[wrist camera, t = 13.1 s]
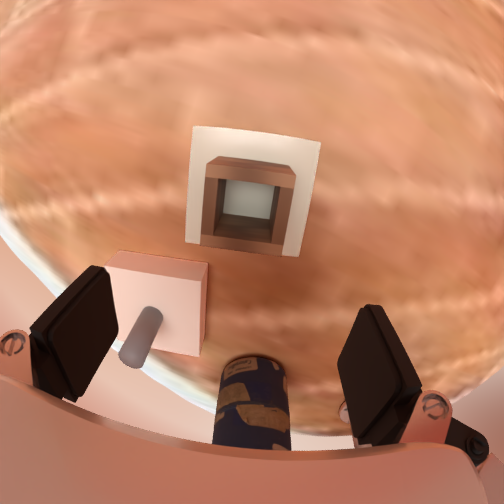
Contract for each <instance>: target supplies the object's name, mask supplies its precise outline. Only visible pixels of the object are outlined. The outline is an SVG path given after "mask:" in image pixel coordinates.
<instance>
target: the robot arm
mask: <svg viewBox="0 0 504 504" xmlns="http://www.w3.org/2000/svg"><path fill="white" fill-rule="evenodd" d="M30 330H31V334H30V335H29V336H28V334H27V333H26V332H24V331H23V330H18V329H17V330H11V331H8V332H6V333H5V334H3V335H2V336H1V337H0V504H504V464H503V463H502V462H501V461H500V460H499V459H498V458H497V457H496V456H495V455H494V454H493V453H490V454H489V445H488V442H487V440H486V438H485V437H484V436H483V435H482V434H481V433H479V432H477V431H476V430H474V429H472V428H470V427H468V426H467V425H465V424H463V423H461V422H460V421H458V420H456V419H454V418H453V417H452V406H451V403H450V401H449V400H448V398H447V397H446V396H445V395H443V394H442V393H440V392H438V391H435V390H428V391H424V392H423V393H422V390H421V387H422V384H421V382H420V379H419V377H418V375H417V373H416V371H415V369H414V367H413V365H412V363H411V361H410V359H409V357H408V355H407V353H406V351H405V349H404V347H403V345H402V343H401V341H400V339H399V337H398V335H397V333H396V331H395V330H394V328H393V326H392V324H391V322H390V320H389V318H388V317H387V315H386V313H385V311H384V309H383V308H382V306H380V305H370V304H367V305H365V306H364V308H361V309H360V310H359V312H358V315H357V317H356V320H355V322H354V324H353V327H352V329H351V331H350V334H349V336H348V338H347V341H346V343H345V345H344V347H343V350H342V352H341V354H340V356H339V358H338V363H337V366H338V371H339V375H340V379H341V383H342V388H343V392H344V396H345V402H344V403H343V404H342V406H341V407H340V410H339V415H340V418H341V420H342V421H343V422H345V423H349V424H350V427H351V432H352V437H353V441H354V447H355V449H341V450H322V451H279V450H260V449H248V448H238V447H229V446H221V445H214V444H208V443H202V442H196V441H190V440H186V439H180V438H176V437H172V436H167V435H163V434H159V433H155V432H151V431H147V430H144V429H140V428H137V427H133V426H130V425H127V424H124V423H120V422H117V421H114V420H111V419H109V418H106V417H103V416H100V415H97V414H95V413H92V412H90V411H87V410H85V409H82V408H80V407H77V406H75V405H73V404H70V403H68V402H66V401H63V400H62V398H63V397H64V398H66V399H68V400H70V401H72V402H76V401H77V399H78V397H81V396H83V394H84V393H85V391H86V389H87V387H88V385H89V384H90V382H91V380H92V378H93V376H94V374H95V373H96V371H97V369H98V367H99V366H100V364H101V362H102V360H103V359H104V357H105V355H106V354H107V352H108V350H109V348H110V347H111V345H112V344H113V342H114V340H115V339H116V337H117V335H118V332H119V326H118V321H117V315H116V310H115V304H114V298H113V292H112V285H111V278H110V274H109V273H108V272H107V270H106V269H105V268H104V267H99V266H94V265H91V266H90V267H88V268H87V269H86V270H85V271H84V272H83V273H82V274H81V275H80V276H79V277H78V278H77V279H76V280H75V281H74V282H73V283H72V284H71V285H70V286H69V287H68V288H67V289H66V290H65V291H64V292H63V293H62V294H61V295H60V296H59V297H58V298H57V299H56V300H55V301H54V302H53V303H52V304H51V305H50V306H49V307H48V308H47V309H46V310H45V311H44V312H43V313H42V315H41V316H40V317H39V318H38V319H37V320H36V321H35V322H34V324H32V326H31V327H30Z"/></svg>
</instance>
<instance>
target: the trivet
mask: <svg viewBox="0 0 504 504" xmlns="http://www.w3.org/2000/svg"><path fill="white" fill-rule="evenodd" d="M320 146H321V142H317V141H312V140H307V139H302V138H296V137H290V136H284V135H278V134H271V133H264V132H257V131H249V130H240V129H231V128H220V127H207V126H193V133H192V143H191V153H190V165H189V177H188V192H187V209H186V231H185V242H188V243H195V244H200V235H201V220H202V206H203V194H204V183H205V172H206V164H207V163H208V162H210V161H211V160H213V159H215V158H216V157H218V156H225V157H234V158H242V159H250V160H257V161H264V162H271V163H278V164H284V165H289V166H290V168H291V169H292V170H293V172H294V173H295V174H296V181H295V187H294V192H293V198H292V203H291V209H290V214H289V219H288V225H287V230H286V235H285V240H284V245H283V251H282V255H286V256H293V257H299V253H300V249H301V244H302V239H303V235H304V230H305V225H306V220H307V215H308V211H309V206H310V200H311V195H312V190H313V185H314V180H315V174H316V169H317V163H318V157H319V152H320ZM274 187H275V186H273V185H266V184H259V183H252V182H244V181H237V180H228V179H227V181H226V189H225V199H224V208H223V213H226V214H234V215H241V216H249V217H256V218H263V219H269V218H270V212H271V206H272V200H273V194H274Z"/></svg>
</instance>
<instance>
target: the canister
mask: <svg viewBox="0 0 504 504" xmlns="http://www.w3.org/2000/svg"><path fill="white" fill-rule="evenodd" d="M212 444H214V445H221V446H229V447H238V448H248V449H260V450H279V451H291V437H290V414H289V404H288V393H287V378H286V374H285V372H284V370H283V369H282V368H281V367H280V366H279V365H278V364H277V363H275V362H273V361H271V360H268V359H264V358H258V357H248V358H242V359H238V360H235V361H233V362H231V363H230V364H229V365H227V366H226V368H225V369H224V371H223V373H222V376H221V382H220V389H219V395H218V400H217V408H216V415H215V423H214V433H213V440H212Z"/></svg>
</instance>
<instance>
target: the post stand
mask: <svg viewBox="0 0 504 504" xmlns="http://www.w3.org/2000/svg"><path fill="white" fill-rule="evenodd" d="M104 268H105V269H106V270H107V272H108V273H109V274H110V278H111V285H112V292H113V298H114V304H115V310H116V315H117V321H118V326H119V332H118V335H117V339H118V340H121V341H125V342H124V344H123V346H122V348H121V349H120V351H119V354H118V355H119V358H120V360H121V361H122V362H123V363H124V364H125V365H127V366H129V367H131V368H136V369H137V368H141V367H142V366H143V364H144V362H145V360H146V357H147V355H148V353H149V350H150V348H154V349H159V350H164V351H169V352H174V353H179V354H185V355H190V356H196V357H199V356H200V352H201V348H202V344H203V340H204V336H205V313H206V292H207V274H208V263H206V262H199V261H191V260H184V259H177V258H170V257H164V256H157V255H150V254H143V253H137V252H130V251H123V250H119V251H118V252H117V253H116V254H115V255H114V256H113V257H112V258H111V259H110V260H109V261H108V262H107V263H106V264H105V265H104Z"/></svg>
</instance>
